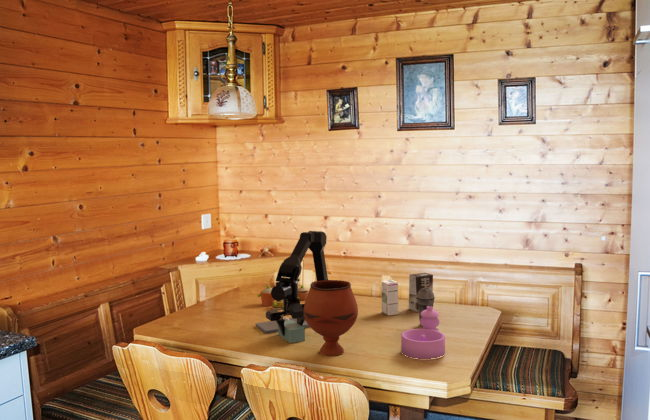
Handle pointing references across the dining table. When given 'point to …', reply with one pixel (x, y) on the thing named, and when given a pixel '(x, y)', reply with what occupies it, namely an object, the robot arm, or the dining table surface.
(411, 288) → the coffee box
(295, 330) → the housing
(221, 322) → the dining table surface
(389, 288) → the syrup box
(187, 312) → the dining table surface
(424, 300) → the beverage cup
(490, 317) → the dining table surface
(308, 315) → the goblet
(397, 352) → the dining table surface
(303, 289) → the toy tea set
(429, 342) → the container set
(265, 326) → the plate
